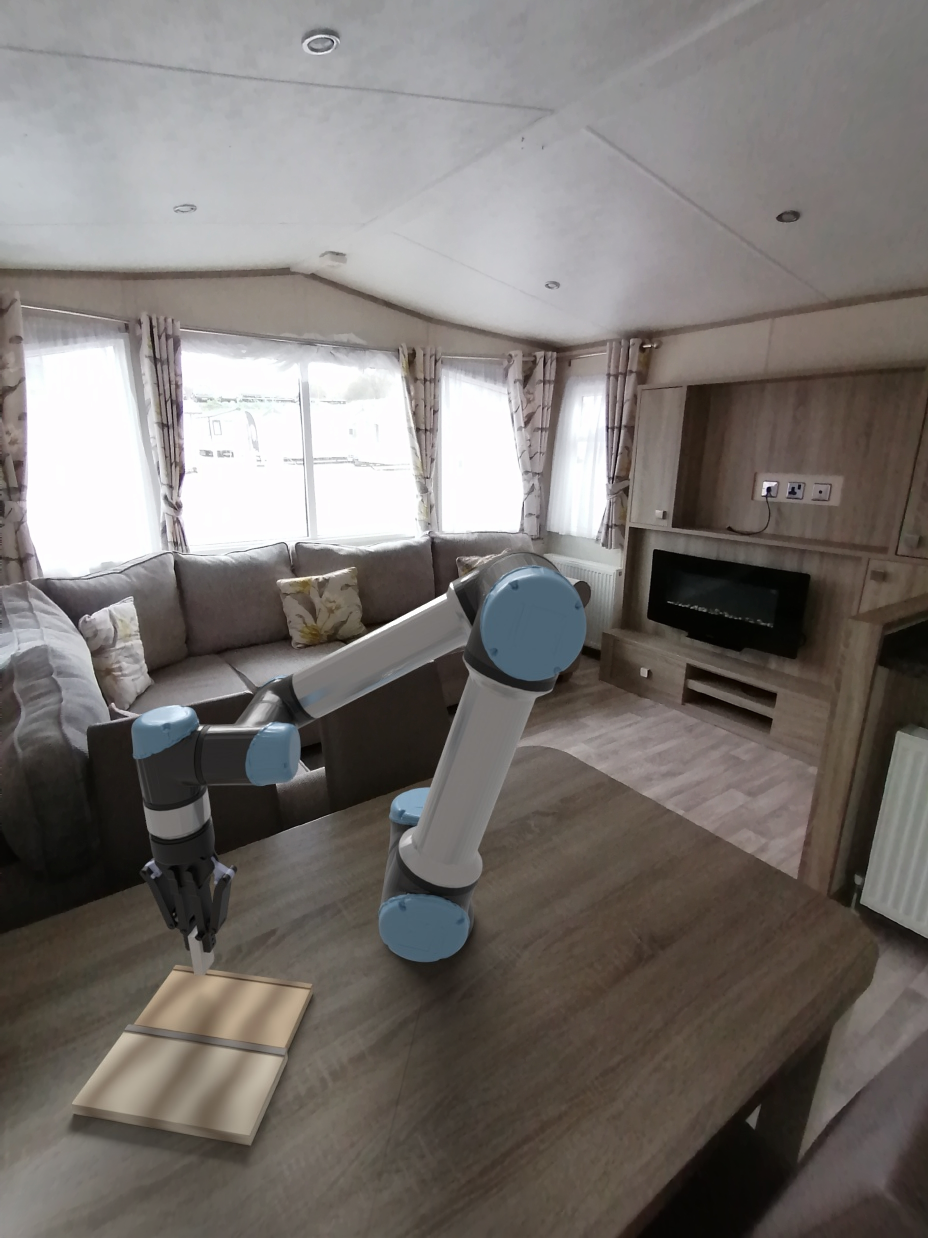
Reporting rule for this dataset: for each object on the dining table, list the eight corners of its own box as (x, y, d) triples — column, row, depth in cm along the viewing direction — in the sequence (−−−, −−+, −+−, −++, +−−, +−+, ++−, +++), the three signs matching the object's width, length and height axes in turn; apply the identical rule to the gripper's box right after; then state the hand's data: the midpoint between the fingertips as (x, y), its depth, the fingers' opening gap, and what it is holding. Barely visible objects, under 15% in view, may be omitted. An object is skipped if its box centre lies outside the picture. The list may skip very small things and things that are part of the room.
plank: (313, 992, 87) (312, 983, 87) (285, 1056, 78) (284, 1047, 78) (177, 973, 90) (175, 964, 89) (135, 1033, 81) (133, 1023, 80)
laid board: (287, 1059, 78) (286, 1049, 77) (250, 1146, 68) (249, 1134, 68) (130, 1034, 81) (128, 1024, 80) (73, 1114, 71) (70, 1102, 71)
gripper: (241, 809, 82) (260, 950, 88) (152, 802, 84) (177, 941, 90) (211, 845, 75) (234, 995, 81) (115, 836, 76) (145, 984, 83)
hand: (204, 967), depth 86 cm, fingers closed
